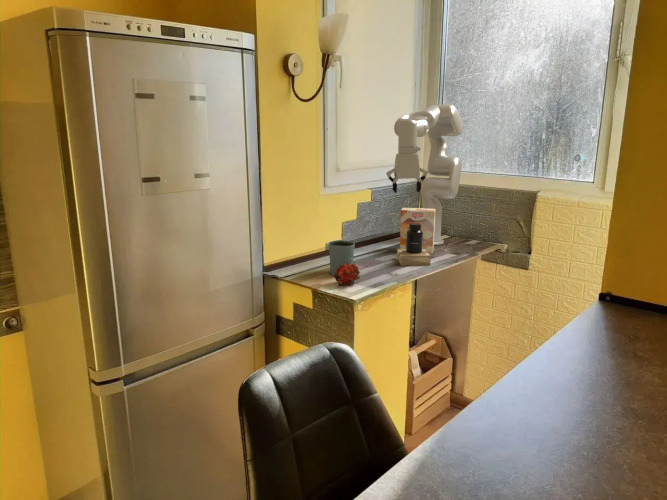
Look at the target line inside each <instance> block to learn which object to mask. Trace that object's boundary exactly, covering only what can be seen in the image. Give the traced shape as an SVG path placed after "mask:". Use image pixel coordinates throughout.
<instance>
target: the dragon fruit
mask: <svg viewBox="0 0 667 500" xmlns="http://www.w3.org/2000/svg"><path fill="white" fill-rule="evenodd" d="M360 272H361V271H359V267H358V266H357V265H356V263H354V262H353V263H352V264H351V265H350V264H349V263H348V262H346V265H342V264H341V265H340V267H339V268H337V269H336V274H335V275H333V277H334V279H335V281H336V282H338V286H345V285H347V284H348V285H349V286H352V285H353V284H355V281H357V280H360V276H359V275H360V274H361V273H360Z"/></svg>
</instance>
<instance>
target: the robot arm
mask: <svg viewBox="0 0 667 500" xmlns="http://www.w3.org/2000/svg"><path fill="white" fill-rule="evenodd" d="M393 126H394V127H393V132H394V133H395V135H396V136H397V137H398V139H397V141H398V143H397V144H398V145H397V147H398V150H397V153H396V154H395V159H394V168H392V169H391V170H389V171H386V173H385V174H386V176H387V179H389V180H390V182H391V183H392V191H393V193H396V194H397V193H398V183H397V182H398V181H399V179H400V180H402V179H406V180H407V179H416V190H415V191H416V192H417V193H420V194H421V208H426V209H435V232H434V246H439V245H443V244H444V242H445V240H444V239H442V238H441V237H442V214H443V213H442V212H443V206H442V203H441V202H440V200H439V199H451V200H452V199H455V198H456V197H457V195H458V192H459V187H460V186H459V185H460V179H461V174H462V165H463V164H462V161H461V159H460V158H459V157H458V156H453V155H452V156H451V155H449V149H450V148H449V144H448V142H447V141H446V140H445V139H444V138H443V137H458V136H461V134H462V133H463V130H464V124H463V119H462V117H461V115H460V113H459V111H458V109H457V108H456V106H455V105H453V104H451V103H450V104H449V103H448V104H447V103H446V104H432V105H431V104H430V105H429V106H428V107H426V108H424V109H422V110H420V111H416V112H413V113H408V114H405V115H402V116H400V117H399V118H397V120H396V121H395V122H394V125H393ZM426 135H427V136H428V140H429V143H430V150H429V156H428V161H427V170H425V169H423V168H421V166H420V156H419V153H418V152H420V151H421V147H418V144H417V143H418V138H422V137H425V136H426ZM421 173H423V174H422V175H421ZM392 174H393V176H394V177H393V176H392ZM420 175H421V176H420ZM428 175H430V177H427V176H428ZM431 176H434V177H431Z"/></svg>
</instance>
